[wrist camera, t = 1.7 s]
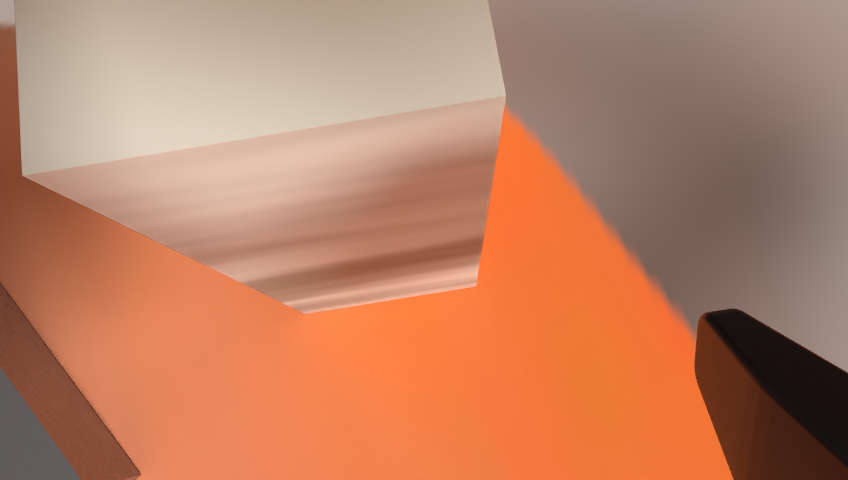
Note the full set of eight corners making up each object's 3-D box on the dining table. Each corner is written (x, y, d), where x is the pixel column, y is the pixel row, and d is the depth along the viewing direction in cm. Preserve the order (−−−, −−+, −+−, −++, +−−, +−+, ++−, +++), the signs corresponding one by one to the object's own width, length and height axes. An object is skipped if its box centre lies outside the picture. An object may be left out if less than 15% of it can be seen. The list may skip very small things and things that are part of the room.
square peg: (476, 286, 21) (506, 95, 7) (305, 314, 21) (21, 176, 7) (447, 124, 22) (429, -307, 8) (285, 151, 22) (4, -233, 9)
